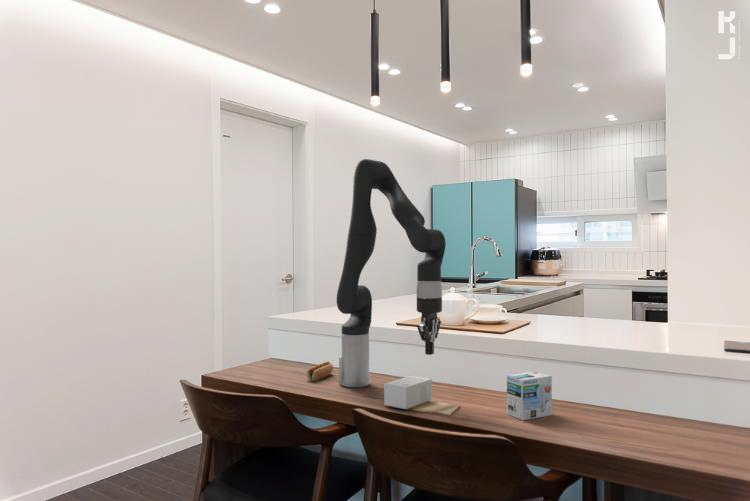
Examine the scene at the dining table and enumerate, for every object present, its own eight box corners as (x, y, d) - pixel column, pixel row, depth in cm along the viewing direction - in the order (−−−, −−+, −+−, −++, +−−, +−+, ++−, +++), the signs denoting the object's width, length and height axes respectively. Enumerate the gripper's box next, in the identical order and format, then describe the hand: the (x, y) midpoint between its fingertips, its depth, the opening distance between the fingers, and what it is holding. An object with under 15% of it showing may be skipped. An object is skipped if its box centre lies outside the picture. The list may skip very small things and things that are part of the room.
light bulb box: (523, 421, 139) (522, 380, 139) (505, 414, 145) (505, 374, 145) (553, 415, 144) (552, 375, 144) (535, 408, 150) (534, 370, 150)
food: (322, 373, 197) (322, 359, 197) (335, 374, 195) (335, 360, 195) (303, 381, 184) (303, 367, 184) (317, 383, 182) (317, 368, 182)
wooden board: (383, 405, 153) (383, 404, 153) (397, 398, 161) (397, 396, 161) (449, 415, 144) (449, 413, 144) (460, 407, 152) (460, 405, 152)
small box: (410, 396, 162) (383, 405, 152) (410, 375, 163) (383, 382, 153) (432, 400, 157) (406, 409, 147) (432, 378, 157) (406, 386, 147)
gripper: (426, 294, 166) (426, 349, 166) (408, 297, 154) (408, 357, 154) (448, 294, 162) (449, 351, 162) (432, 298, 151) (432, 359, 150)
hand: (429, 354), depth 158 cm, fingers closed
